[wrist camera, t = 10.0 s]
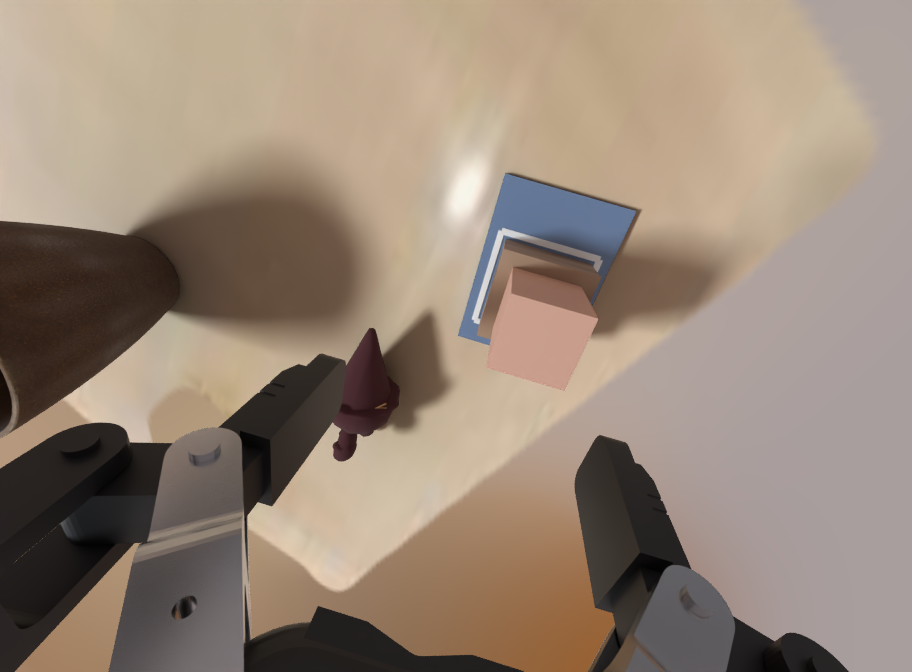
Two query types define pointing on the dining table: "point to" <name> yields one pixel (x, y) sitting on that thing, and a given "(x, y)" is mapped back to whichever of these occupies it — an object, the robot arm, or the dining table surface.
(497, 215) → the blueprint mat
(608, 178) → the dining table surface
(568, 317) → the terracotta block
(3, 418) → the plant pot
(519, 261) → the walnut base
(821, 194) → the dining table surface
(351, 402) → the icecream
